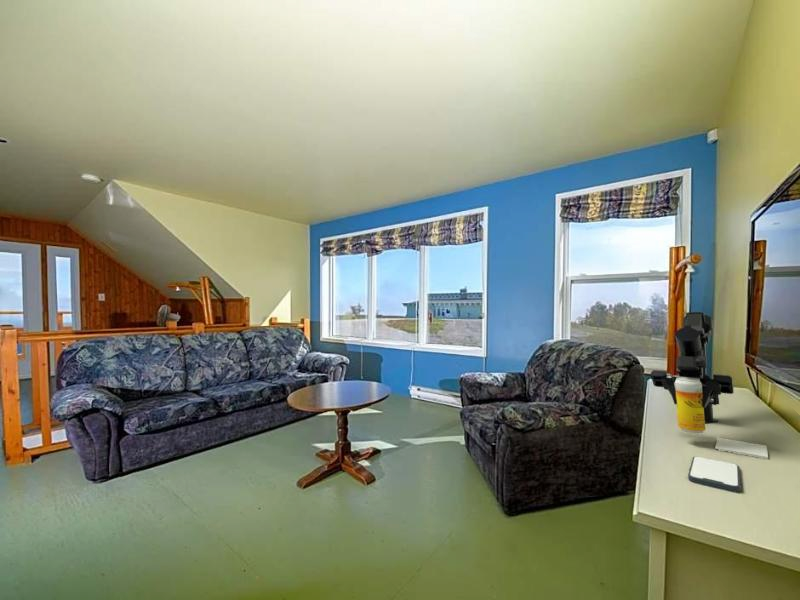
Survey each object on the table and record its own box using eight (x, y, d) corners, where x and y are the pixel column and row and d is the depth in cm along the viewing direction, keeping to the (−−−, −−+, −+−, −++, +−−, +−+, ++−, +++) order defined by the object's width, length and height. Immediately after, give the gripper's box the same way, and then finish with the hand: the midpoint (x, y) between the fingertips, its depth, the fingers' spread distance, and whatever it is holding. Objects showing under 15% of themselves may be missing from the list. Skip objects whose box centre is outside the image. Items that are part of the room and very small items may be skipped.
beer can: (699, 435, 97) (695, 381, 97) (674, 429, 102) (670, 378, 103) (709, 431, 100) (705, 379, 100) (684, 425, 105) (680, 376, 105)
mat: (717, 439, 103) (717, 437, 103) (766, 447, 95) (766, 445, 95) (715, 449, 96) (715, 447, 96) (768, 459, 88) (767, 456, 88)
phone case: (693, 461, 90) (687, 483, 79) (692, 455, 91) (686, 475, 79) (740, 470, 84) (741, 495, 73) (739, 464, 84) (741, 488, 73)
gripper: (649, 344, 111) (644, 385, 103) (729, 346, 98) (731, 393, 90) (656, 365, 116) (652, 406, 108) (732, 370, 103) (734, 416, 95)
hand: (689, 405), depth 100 cm, fingers closed on beer can, 6 cm apart
